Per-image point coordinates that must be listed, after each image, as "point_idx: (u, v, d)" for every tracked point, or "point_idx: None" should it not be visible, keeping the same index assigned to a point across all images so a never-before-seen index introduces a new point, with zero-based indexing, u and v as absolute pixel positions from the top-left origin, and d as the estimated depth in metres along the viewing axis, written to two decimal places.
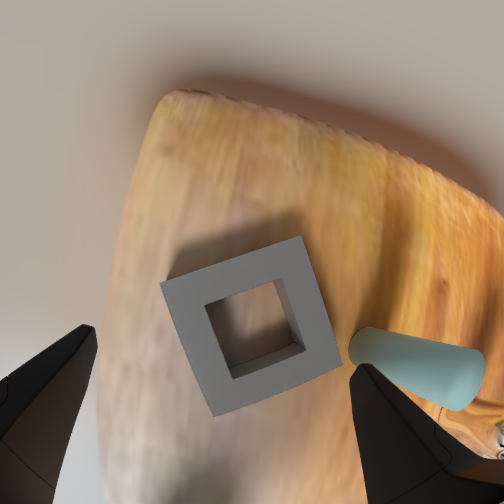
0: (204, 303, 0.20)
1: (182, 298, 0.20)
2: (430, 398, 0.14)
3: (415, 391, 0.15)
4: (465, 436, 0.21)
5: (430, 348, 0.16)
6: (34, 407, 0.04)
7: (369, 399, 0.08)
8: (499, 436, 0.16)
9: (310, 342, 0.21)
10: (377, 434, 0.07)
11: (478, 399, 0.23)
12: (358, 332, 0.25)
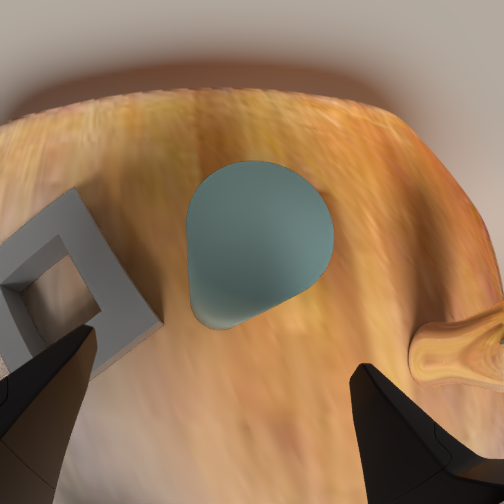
0: None
1: None
2: (215, 298, 0.08)
3: (211, 304, 0.10)
4: (459, 381, 0.16)
5: None
6: (34, 407, 0.04)
7: (369, 399, 0.08)
8: None
9: (103, 299, 0.15)
10: (377, 434, 0.07)
11: (454, 323, 0.18)
12: None
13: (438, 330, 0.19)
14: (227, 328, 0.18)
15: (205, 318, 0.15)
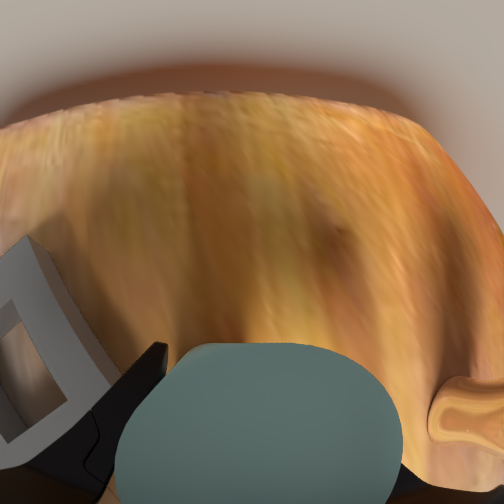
0: None
1: None
2: None
3: None
4: (480, 449, 0.11)
5: (173, 368, 0.06)
6: None
7: None
8: None
9: (68, 387, 0.10)
10: None
11: (483, 386, 0.13)
12: None
13: (464, 392, 0.15)
14: None
15: None
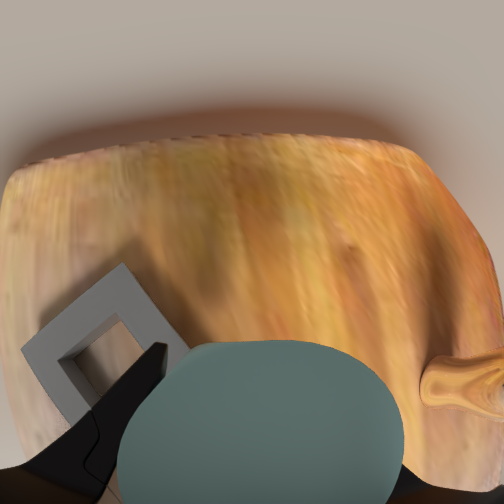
0: (56, 358, 0.16)
1: (39, 358, 0.15)
2: None
3: None
4: (461, 409, 0.18)
5: (174, 367, 0.06)
6: None
7: None
8: (501, 397, 0.13)
9: None
10: None
11: (460, 361, 0.20)
12: None
13: (446, 366, 0.22)
14: None
15: None
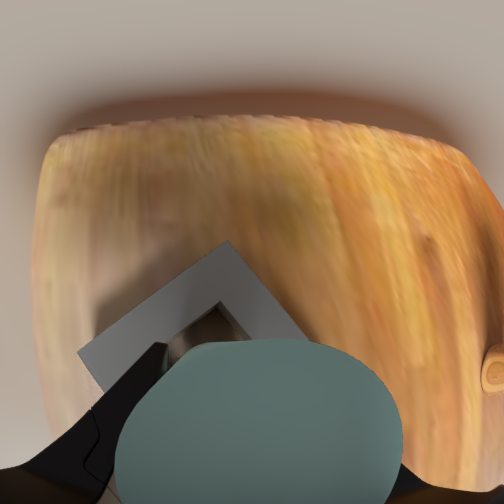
0: None
1: (107, 364, 0.13)
2: None
3: None
4: None
5: None
6: None
7: None
8: None
9: None
10: None
11: None
12: None
13: None
14: None
15: None
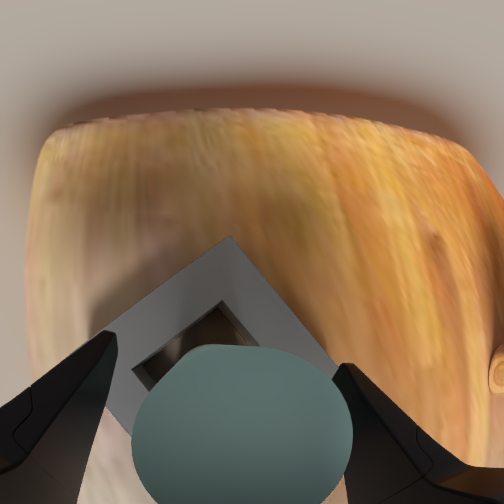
0: (130, 366, 0.13)
1: None
2: None
3: None
4: None
5: (174, 365, 0.07)
6: (61, 418, 0.04)
7: (349, 400, 0.08)
8: None
9: None
10: (357, 437, 0.07)
11: None
12: None
13: None
14: None
15: None
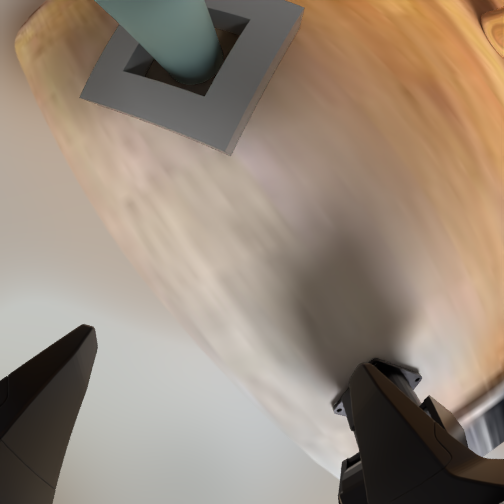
0: (122, 69, 0.14)
1: (103, 85, 0.14)
2: (117, 1, 0.06)
3: (133, 19, 0.08)
4: None
5: None
6: (34, 407, 0.04)
7: (369, 399, 0.08)
8: None
9: (246, 12, 0.13)
10: (377, 434, 0.07)
11: None
12: None
13: (497, 11, 0.11)
14: (206, 71, 0.16)
15: (169, 60, 0.13)
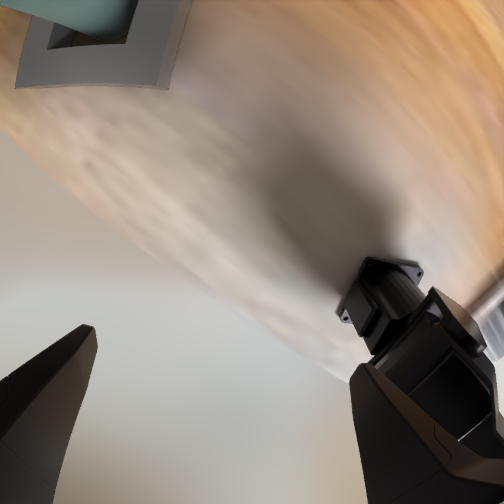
0: (45, 49, 0.11)
1: (32, 69, 0.12)
2: None
3: (31, 3, 0.05)
4: None
5: None
6: (34, 407, 0.04)
7: (369, 399, 0.08)
8: None
9: None
10: (377, 434, 0.07)
11: None
12: None
13: None
14: (124, 21, 0.12)
15: (83, 24, 0.10)
